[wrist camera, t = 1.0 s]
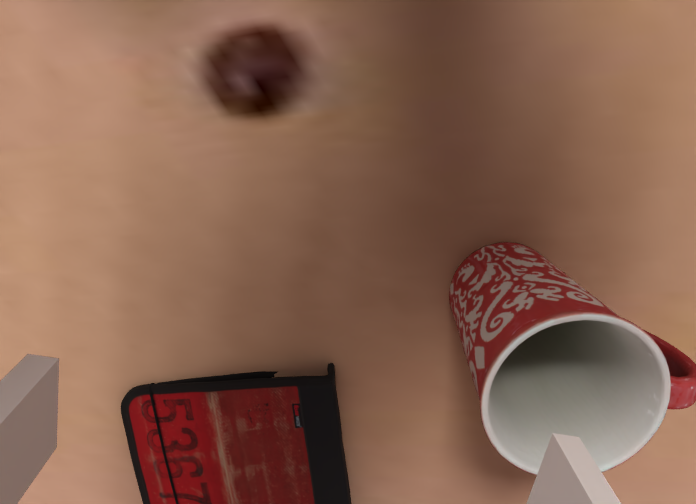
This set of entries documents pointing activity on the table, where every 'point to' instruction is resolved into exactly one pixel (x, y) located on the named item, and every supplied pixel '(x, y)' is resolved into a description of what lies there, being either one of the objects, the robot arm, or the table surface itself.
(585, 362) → the mug
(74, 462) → the table surface
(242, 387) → the black and red tablet
